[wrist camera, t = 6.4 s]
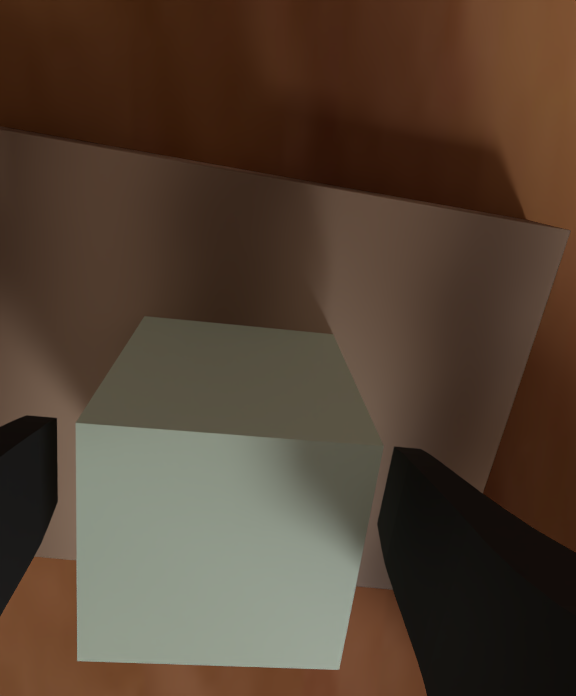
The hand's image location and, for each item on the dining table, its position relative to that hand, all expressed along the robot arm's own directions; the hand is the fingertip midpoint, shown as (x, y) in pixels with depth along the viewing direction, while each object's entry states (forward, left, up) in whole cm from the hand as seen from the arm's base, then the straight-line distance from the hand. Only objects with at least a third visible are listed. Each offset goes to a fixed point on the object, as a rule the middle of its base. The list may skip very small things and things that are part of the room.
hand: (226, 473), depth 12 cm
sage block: (0, 0, -4) cm, 4 cm away
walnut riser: (0, 0, -7) cm, 7 cm away
